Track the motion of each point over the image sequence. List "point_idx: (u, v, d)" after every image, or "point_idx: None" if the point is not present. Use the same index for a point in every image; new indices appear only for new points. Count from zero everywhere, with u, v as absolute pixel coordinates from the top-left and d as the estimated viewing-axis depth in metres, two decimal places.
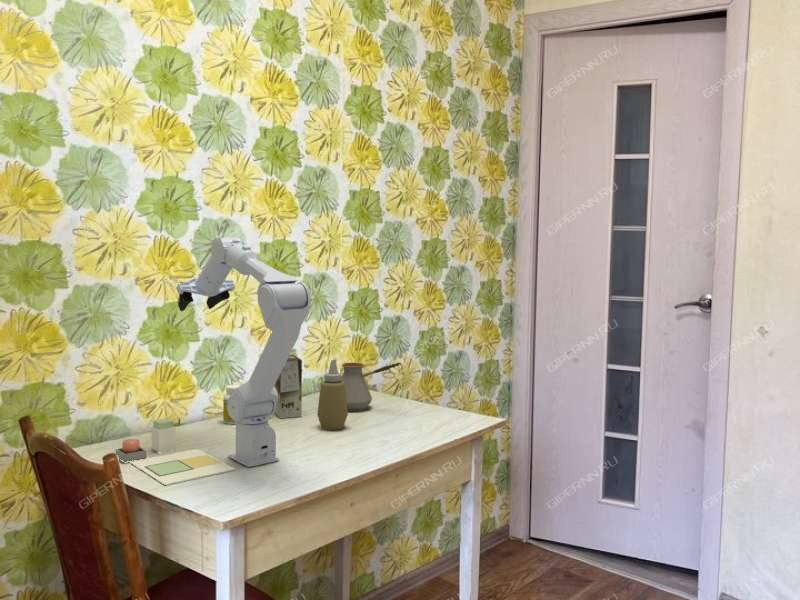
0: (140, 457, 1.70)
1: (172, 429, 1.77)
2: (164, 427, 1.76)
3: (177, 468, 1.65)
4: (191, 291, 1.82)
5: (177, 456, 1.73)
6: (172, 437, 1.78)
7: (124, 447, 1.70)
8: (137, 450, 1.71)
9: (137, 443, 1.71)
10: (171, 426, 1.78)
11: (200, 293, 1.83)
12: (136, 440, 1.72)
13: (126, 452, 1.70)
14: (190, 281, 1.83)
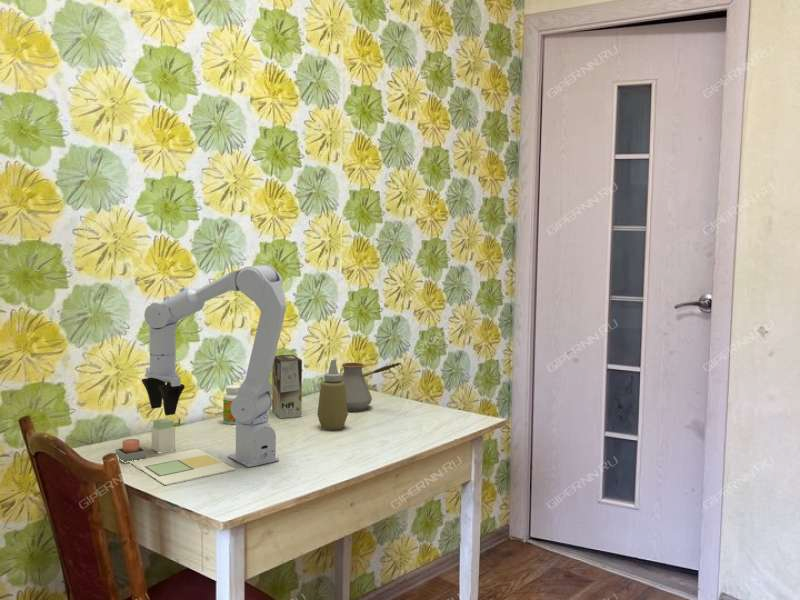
0: (140, 457, 1.70)
1: (172, 429, 1.77)
2: (164, 427, 1.76)
3: (177, 468, 1.65)
4: (177, 376, 1.74)
5: (177, 456, 1.73)
6: (172, 437, 1.78)
7: (124, 447, 1.70)
8: (137, 450, 1.71)
9: (137, 443, 1.71)
10: (171, 426, 1.78)
11: (176, 374, 1.76)
12: (136, 440, 1.72)
13: (126, 452, 1.70)
14: None
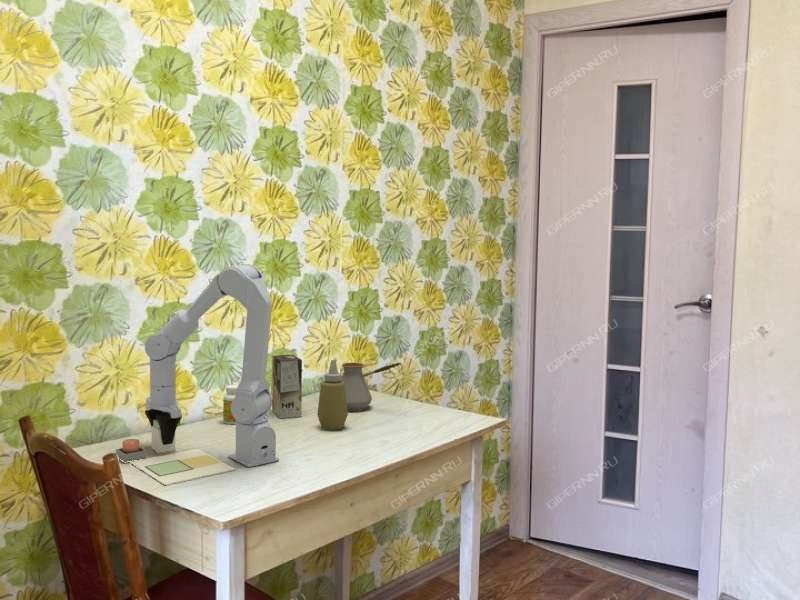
0: (140, 457, 1.70)
1: None
2: None
3: (177, 468, 1.65)
4: (178, 407, 1.75)
5: (177, 456, 1.73)
6: None
7: (124, 447, 1.70)
8: (137, 450, 1.71)
9: (137, 443, 1.71)
10: None
11: (177, 405, 1.77)
12: (136, 440, 1.72)
13: (126, 452, 1.70)
14: None
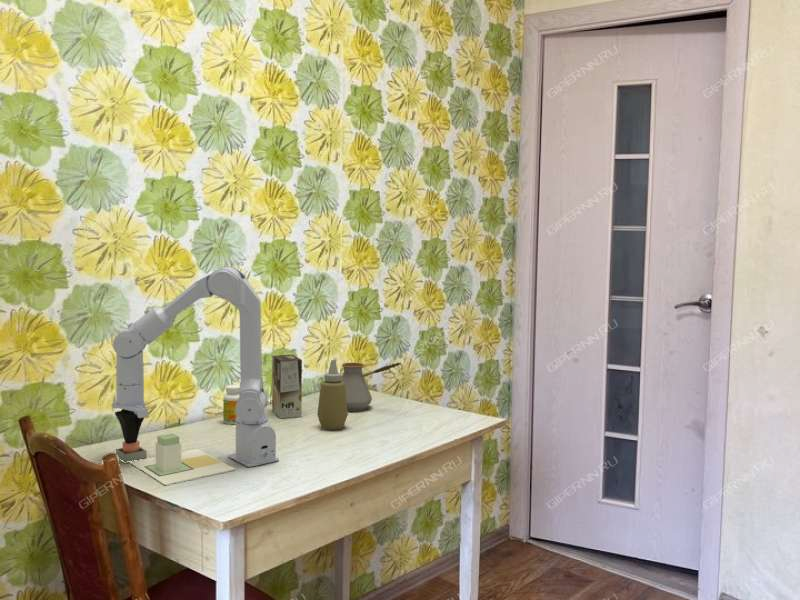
0: (140, 457, 1.70)
1: (178, 446, 1.64)
2: (169, 444, 1.63)
3: None
4: (145, 406, 1.68)
5: None
6: (178, 454, 1.64)
7: (124, 448, 1.70)
8: (137, 451, 1.71)
9: (137, 444, 1.71)
10: (177, 442, 1.64)
11: None
12: None
13: None
14: None
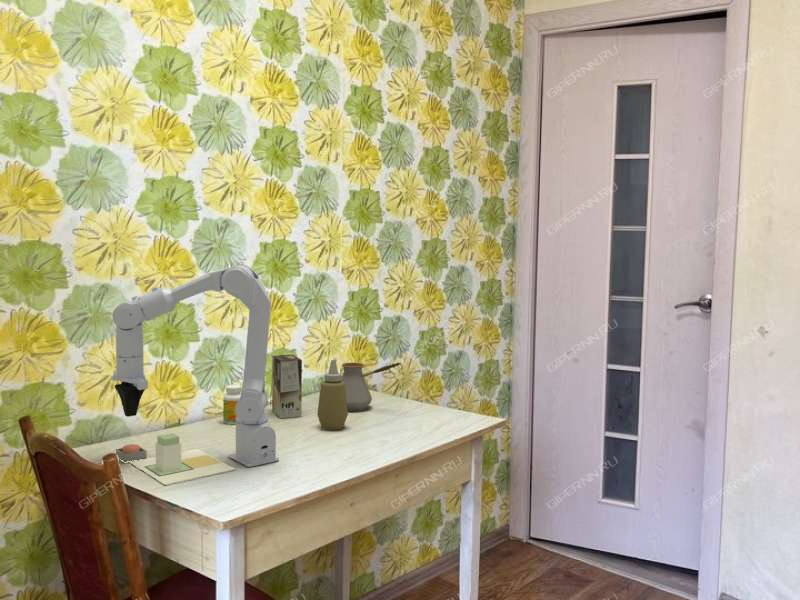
0: (140, 457, 1.70)
1: (178, 446, 1.64)
2: (169, 444, 1.63)
3: None
4: (145, 379, 1.67)
5: None
6: (178, 454, 1.64)
7: (124, 453, 1.70)
8: None
9: (137, 449, 1.71)
10: (177, 442, 1.64)
11: (144, 377, 1.69)
12: (136, 446, 1.72)
13: None
14: None
